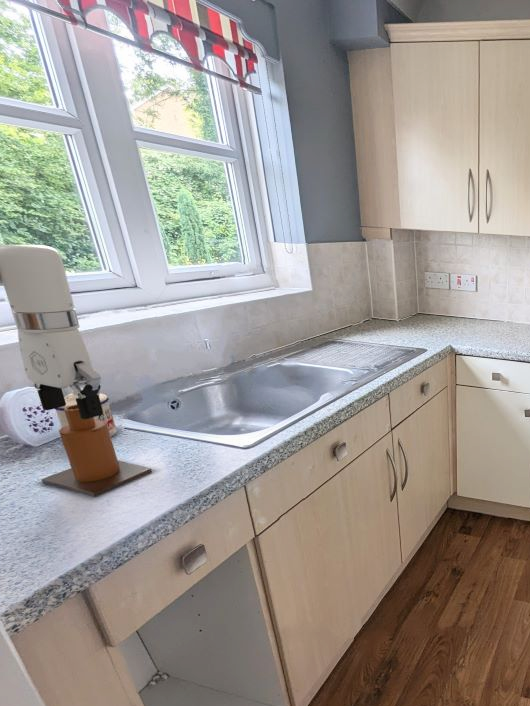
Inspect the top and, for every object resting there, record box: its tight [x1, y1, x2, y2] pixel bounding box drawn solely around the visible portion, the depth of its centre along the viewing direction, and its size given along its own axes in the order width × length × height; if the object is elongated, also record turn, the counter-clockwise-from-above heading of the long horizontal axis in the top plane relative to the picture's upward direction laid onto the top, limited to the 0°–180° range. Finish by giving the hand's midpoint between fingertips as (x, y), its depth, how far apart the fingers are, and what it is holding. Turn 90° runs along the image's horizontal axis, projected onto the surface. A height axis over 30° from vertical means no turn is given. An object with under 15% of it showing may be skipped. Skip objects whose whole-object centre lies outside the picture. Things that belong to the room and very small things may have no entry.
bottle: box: [58, 404, 120, 482], centre depth 86 cm, size 6×6×14 cm
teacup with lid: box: [54, 387, 118, 438], centre depth 104 cm, size 12×9×12 cm
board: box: [41, 460, 153, 498], centre depth 88 cm, size 14×10×1 cm
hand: (73, 412), depth 84 cm, fingers open, 9 cm apart
